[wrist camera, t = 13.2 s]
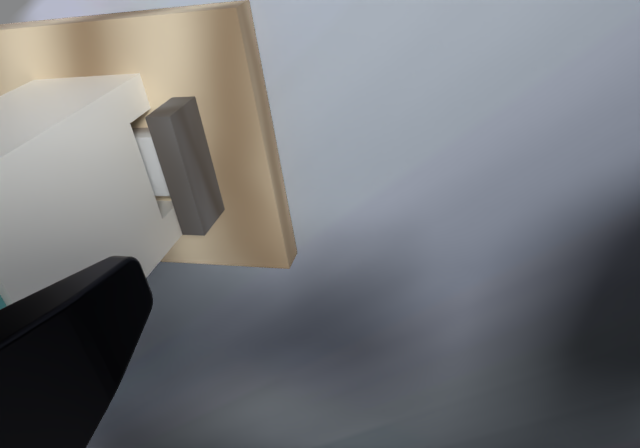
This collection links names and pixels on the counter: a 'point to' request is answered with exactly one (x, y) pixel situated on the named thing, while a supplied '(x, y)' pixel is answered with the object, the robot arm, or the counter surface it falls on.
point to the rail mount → (182, 118)
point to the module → (75, 182)
